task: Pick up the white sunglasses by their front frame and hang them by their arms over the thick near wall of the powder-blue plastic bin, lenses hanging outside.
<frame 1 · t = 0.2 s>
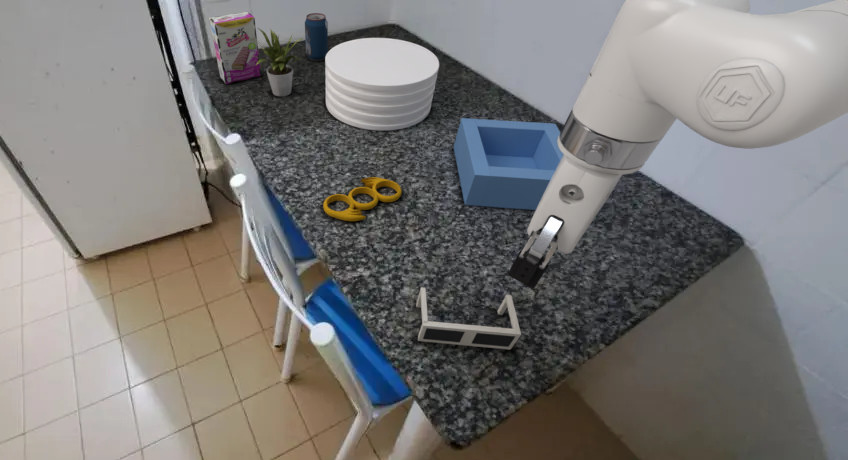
hand: (536, 256, 48), 15 cm above the table, tool pointing down, fingers open, 9 cm apart
yellow winged triple ring: (362, 201, 77), on the table
house plant: (277, 91, 108), on the table
white sunglasses: (461, 324, 58), on the table
candy bar box: (241, 78, 114), on the table
bin: (506, 176, 83), on the table
soda can: (317, 57, 125), on the table
plate stack: (377, 102, 105), on the table
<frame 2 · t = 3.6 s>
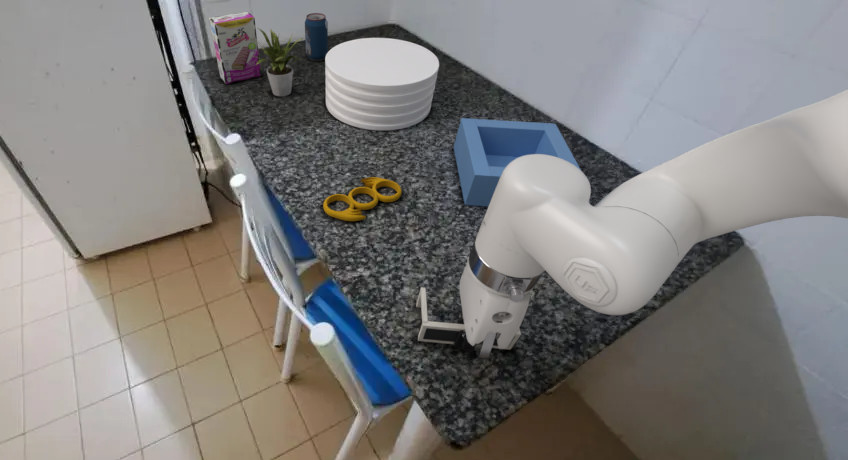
hand: (464, 341, 56), 0 cm above the table, tool pointing down, fingers closed on white sunglasses
white sunglasses: (461, 324, 58), on the table, touching gripper
everything else where it was.
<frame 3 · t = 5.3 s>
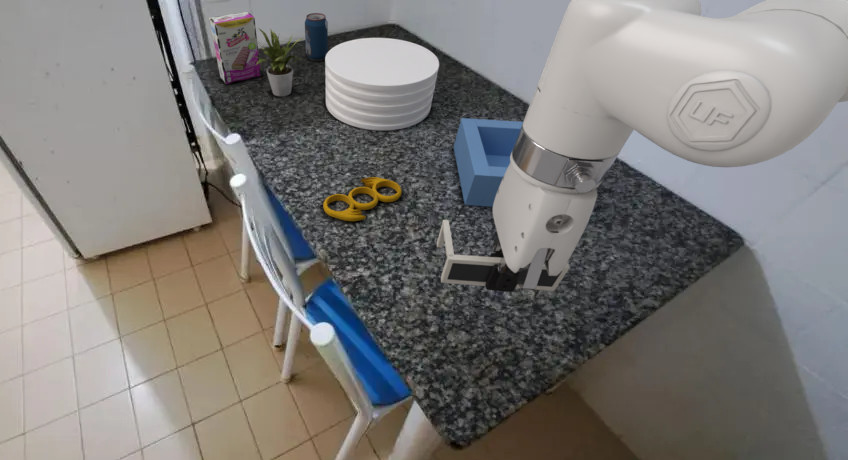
hand: (497, 282, 46), 14 cm above the table, tool pointing down, fingers closed on white sunglasses
white sunglasses: (491, 264, 49), point 14 cm above the table, touching gripper
everything else where it was.
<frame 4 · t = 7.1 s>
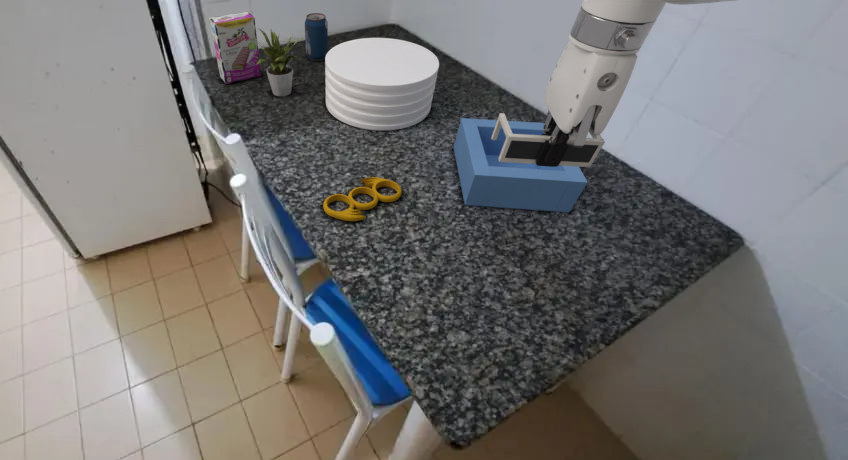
hand: (544, 161, 57), 18 cm above the table, tool pointing down, fingers closed on white sunglasses
white sunglasses: (538, 151, 60), point 17 cm above the table, touching gripper
everything else where it was.
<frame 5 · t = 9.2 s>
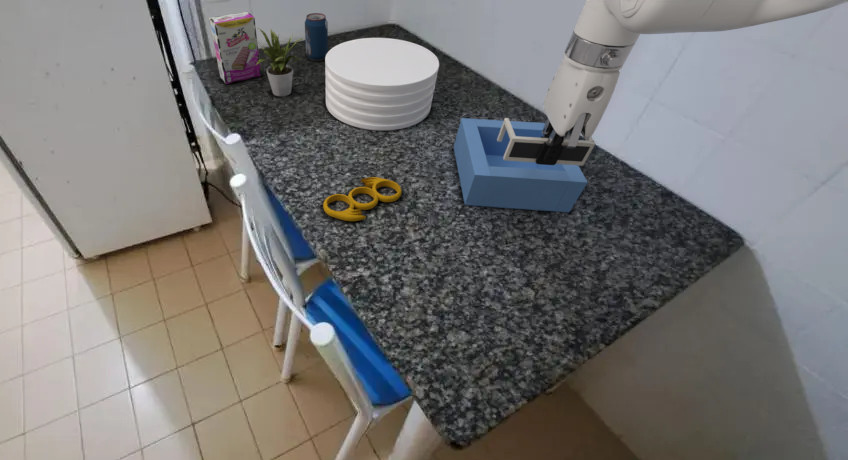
hand: (543, 160, 66), 12 cm above the table, tool pointing down, fingers closed on white sunglasses
white sunglasses: (538, 151, 68), point 12 cm above the table, touching gripper
everything else where it was.
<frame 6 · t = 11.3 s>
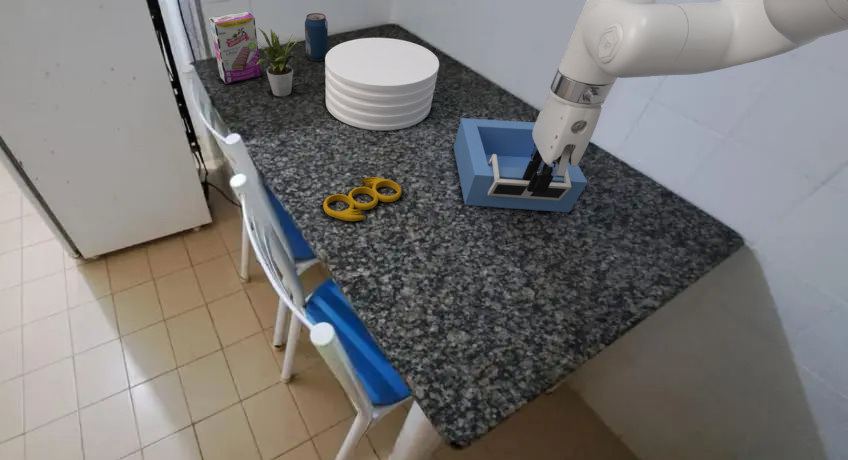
hand: (533, 185, 69), 8 cm above the table, tool pointing down, fingers closed
white sunglasses: (521, 183, 75), point 4 cm above the table, tilted 15°, touching bin
everything else where it was.
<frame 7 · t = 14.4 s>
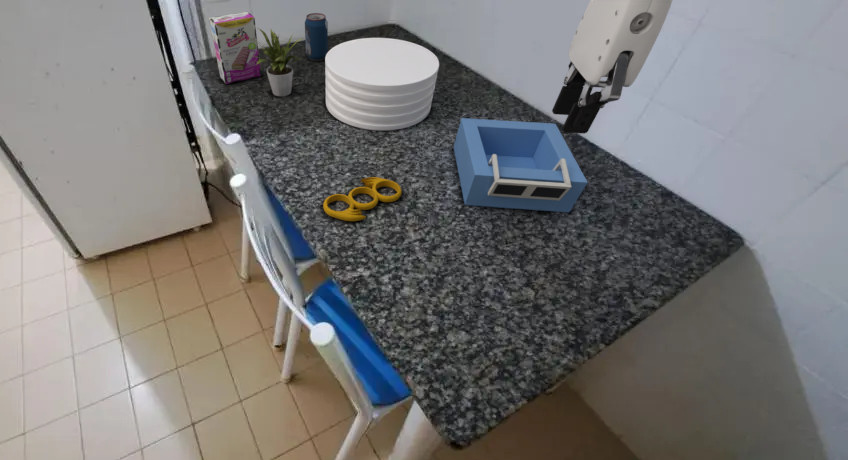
hand: (568, 121, 55), 23 cm above the table, tool pointing down, fingers open, 4 cm apart
nothing on the table moved.
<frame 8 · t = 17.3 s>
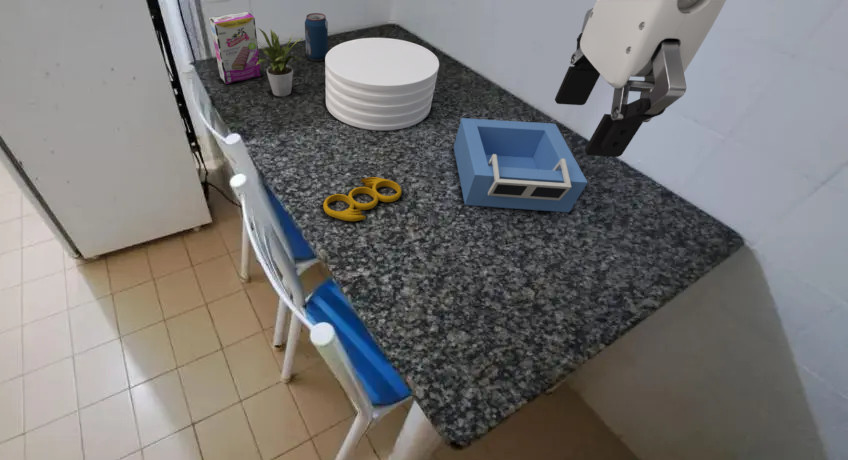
hand: (583, 126, 40), 30 cm above the table, tool pointing down, fingers open, 9 cm apart
nothing on the table moved.
at the end: white sunglasses inside the target area in the bin (0.5 cm from its centre), point 4.4 cm above the bin's base; white sunglasses touching bin; the gripper is holding nothing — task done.
